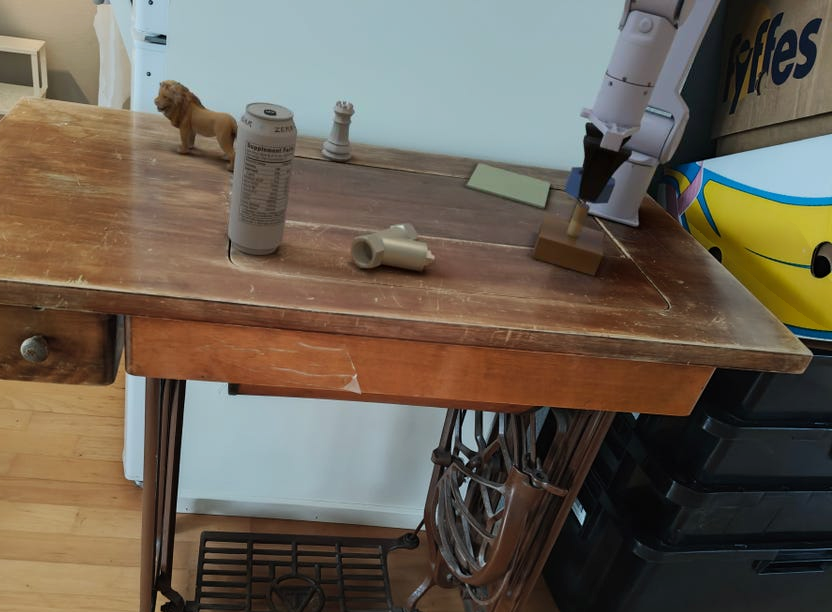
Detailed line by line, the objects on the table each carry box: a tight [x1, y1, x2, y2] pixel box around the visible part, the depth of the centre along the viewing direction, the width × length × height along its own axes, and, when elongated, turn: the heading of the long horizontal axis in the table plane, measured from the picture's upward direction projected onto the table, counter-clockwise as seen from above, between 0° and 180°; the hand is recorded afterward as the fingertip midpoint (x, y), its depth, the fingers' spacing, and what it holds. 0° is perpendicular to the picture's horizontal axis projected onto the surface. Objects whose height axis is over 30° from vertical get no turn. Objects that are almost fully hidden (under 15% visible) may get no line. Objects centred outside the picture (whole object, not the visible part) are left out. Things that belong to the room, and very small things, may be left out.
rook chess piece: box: [321, 100, 355, 162], centre depth 108 cm, size 4×4×8 cm
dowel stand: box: [531, 202, 604, 277], centre depth 93 cm, size 8×8×7 cm
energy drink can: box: [227, 102, 298, 256], centre depth 77 cm, size 6×6×15 cm
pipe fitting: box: [350, 222, 435, 272], centre depth 82 cm, size 8×4×7 cm
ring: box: [564, 166, 615, 204], centre depth 90 cm, size 5×5×2 cm
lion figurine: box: [153, 79, 238, 172], centre depth 98 cm, size 15×5×9 cm, turn 73°
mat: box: [465, 162, 551, 210], centre depth 114 cm, size 12×12×1 cm
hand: (587, 191), depth 90 cm, fingers closed on ring, 5 cm apart
